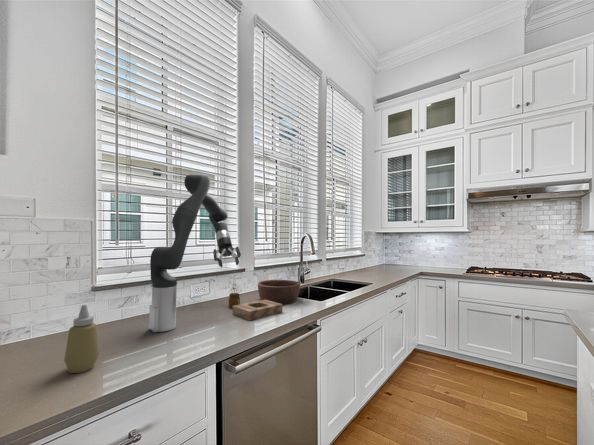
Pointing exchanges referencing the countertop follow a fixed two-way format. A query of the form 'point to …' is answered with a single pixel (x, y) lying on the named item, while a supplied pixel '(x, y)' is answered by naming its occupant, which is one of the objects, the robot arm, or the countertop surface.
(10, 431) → the countertop surface
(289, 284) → the wooden bowl
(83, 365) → the squeeze bottle
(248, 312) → the wooden block with hole
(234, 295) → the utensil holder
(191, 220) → the robot arm
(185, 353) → the countertop surface
